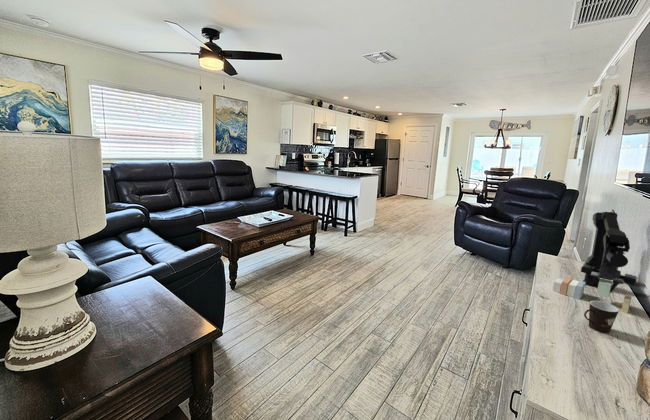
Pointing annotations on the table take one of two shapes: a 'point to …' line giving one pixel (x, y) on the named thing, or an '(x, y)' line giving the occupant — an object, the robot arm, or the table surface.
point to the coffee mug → (601, 316)
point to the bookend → (624, 304)
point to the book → (604, 287)
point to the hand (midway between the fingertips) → (604, 290)
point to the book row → (569, 287)
